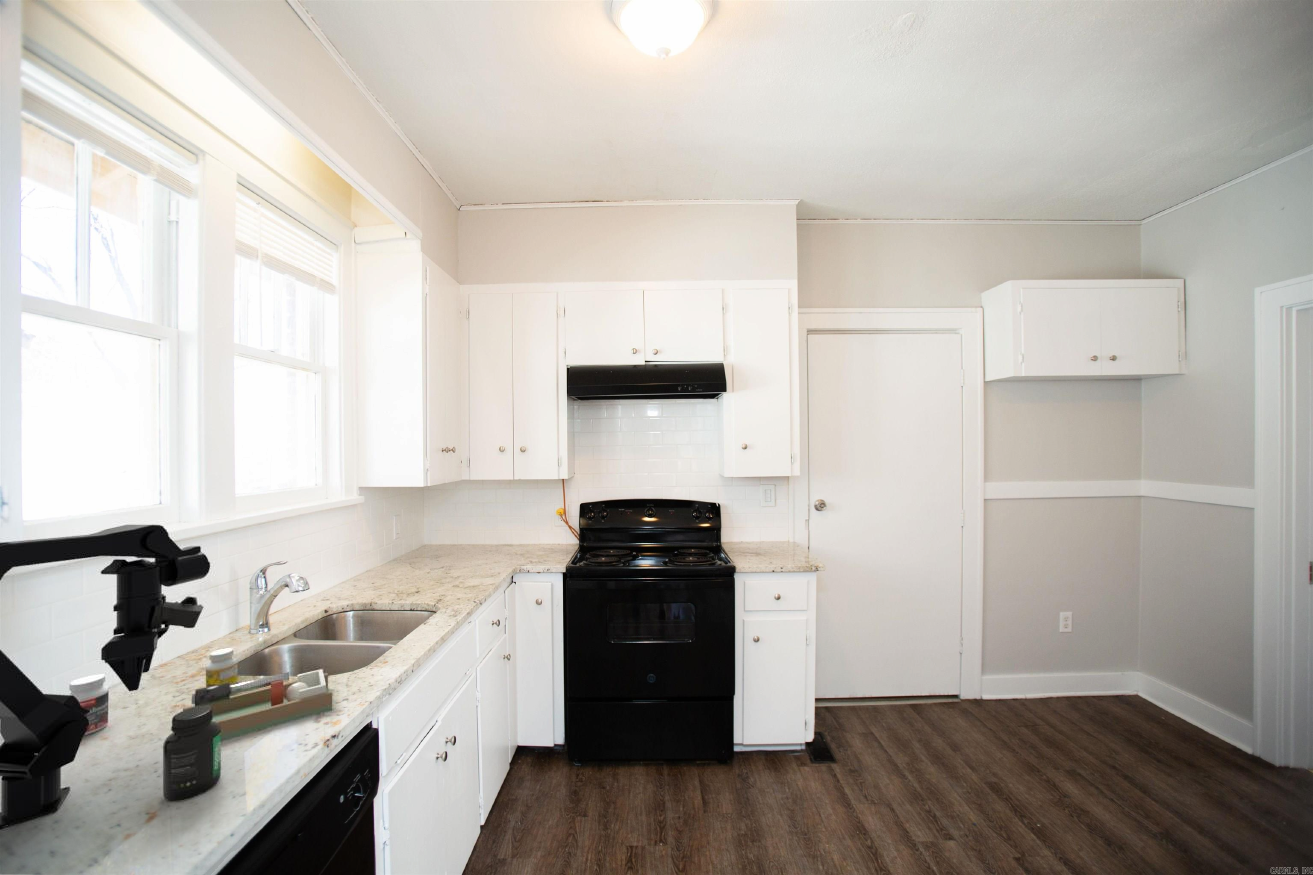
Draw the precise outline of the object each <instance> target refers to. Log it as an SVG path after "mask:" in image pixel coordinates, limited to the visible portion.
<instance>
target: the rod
mask: <svg viewBox="0 0 1313 875" xmlns="http://www.w3.org/2000/svg"><path fill="white" fill-rule="evenodd" d="M287 682H290V672H289V671H286V672H283V673H280V674H279V673H278V674H275V675H270V676H266V677H262V678H257V679H253V680H248V681H244V682H240V683H239V682H238V684H235V685H230V682H227V683H223V684H218V685H214V686H209V687H206V686H205V687H202V688H201V687H200V688H196V689H195V690H194V691H195V692H194V693H192V694H191V705H195V707H198V706H204V705H208V704H212V703H216V702H220V701H224V700H228V699H230V695H231V696H233V695H237V694H242V693H246V692H250V691H254V690H258V689H262V688H267V687H271V706H275V705H279V704H283V683H287Z"/></svg>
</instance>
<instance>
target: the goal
mask: <svg viewBox="0 0 1313 875" xmlns="http://www.w3.org/2000/svg"><path fill="white" fill-rule="evenodd" d="M324 674H325V673H324V669H323V668H320V669H317V670H312V671H308V672H304V673H300V674H297V678H296V679H297V683H298V682H302V683H305V684H306V685H307V686H308V688H306V689H302V690H299V699H302V698H306V697H310V696H313V695H317V694H321V693H325V692H326V683H325V678H324Z"/></svg>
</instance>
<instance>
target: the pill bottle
mask: <svg viewBox="0 0 1313 875" xmlns="http://www.w3.org/2000/svg"><path fill="white" fill-rule="evenodd" d="M105 682H106V675H105V674H103V673H102V674H100V673H99V674H92V675H88V676H83V677H80V678H78V679H74V680H72V681H71V682H70V683H69V684H68V685H69V687H68V688H69V691H70V693H69V694H68V695H73V696H75V697H76V698H77V700H78V701H79V703H80V705H81V707H83V708H84V709H86V710H90V712H89V713H87V714H85V715H86V716H87V717H88V719H89V722H90V725H89V726H88V727H87V731H86V733H85V735H84V736H88V735H91V734H93V733H96V732H98V731H100V730H102V729H104V728H105V727H107V725H108V724H109V723H108V722H109V700H110V698H109V687H108V686H107V685H104V683H105Z"/></svg>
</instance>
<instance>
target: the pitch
mask: <svg viewBox="0 0 1313 875" xmlns="http://www.w3.org/2000/svg"><path fill="white" fill-rule="evenodd" d="M323 674H324V678H325V683H326V692H325V693H321V694H317V695H313V696H310V697H306V698H302V699H298V700H294V701H290V702H288V701H287V700H286V697H285V695H286V691H287V689H288V688H289V687H290V686H291V685H293V684H295V683H297V680H292V681H291V680H290V681H288V682H283V704H279V705H275V706H271V686H267V687H262V688H258V689H254V690H250V691H246V692H242V693H237V694H233V695H231V696H230V699H228V700H224V701H220V702H216V703H212V704H208V705H206V706H212V714H213V720H212V721H214V722H216V723H218V724H219V725H220V728H221V741H224V740H227V739H232V738H235V737H238V736H242V735H246V734H248V733H252V732H253V733H254V732H256V731H261V730H264V729H268V728H271V727H274V726H278V725H282V724H285V723H288V722H293V721H296V720H300V719H304V718H307V717H310V716H314V715H317V714H321V713H325V712H329V711H332V710H333V690H329V675H328V672H326V673H323ZM204 706H205V705H204ZM193 707H195V704H191V705H189V706H184V707H183V708H182V711H184V710H187V709H190V708H193Z"/></svg>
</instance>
